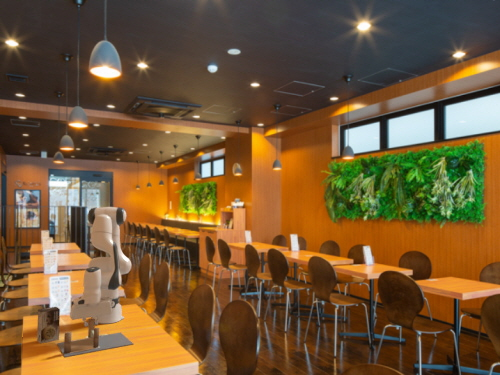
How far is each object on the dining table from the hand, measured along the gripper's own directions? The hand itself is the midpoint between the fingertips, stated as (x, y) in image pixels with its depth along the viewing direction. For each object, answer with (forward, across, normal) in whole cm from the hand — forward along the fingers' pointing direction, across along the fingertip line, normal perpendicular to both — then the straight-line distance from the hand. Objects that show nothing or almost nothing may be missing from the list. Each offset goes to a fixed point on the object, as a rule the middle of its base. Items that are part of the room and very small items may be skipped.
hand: (91, 325), depth 203 cm
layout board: (+8, 0, +8) cm, 11 cm away
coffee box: (+8, +18, -12) cm, 23 cm away
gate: (+7, 0, +5) cm, 9 cm away
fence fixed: (+7, +7, +14) cm, 17 cm away
